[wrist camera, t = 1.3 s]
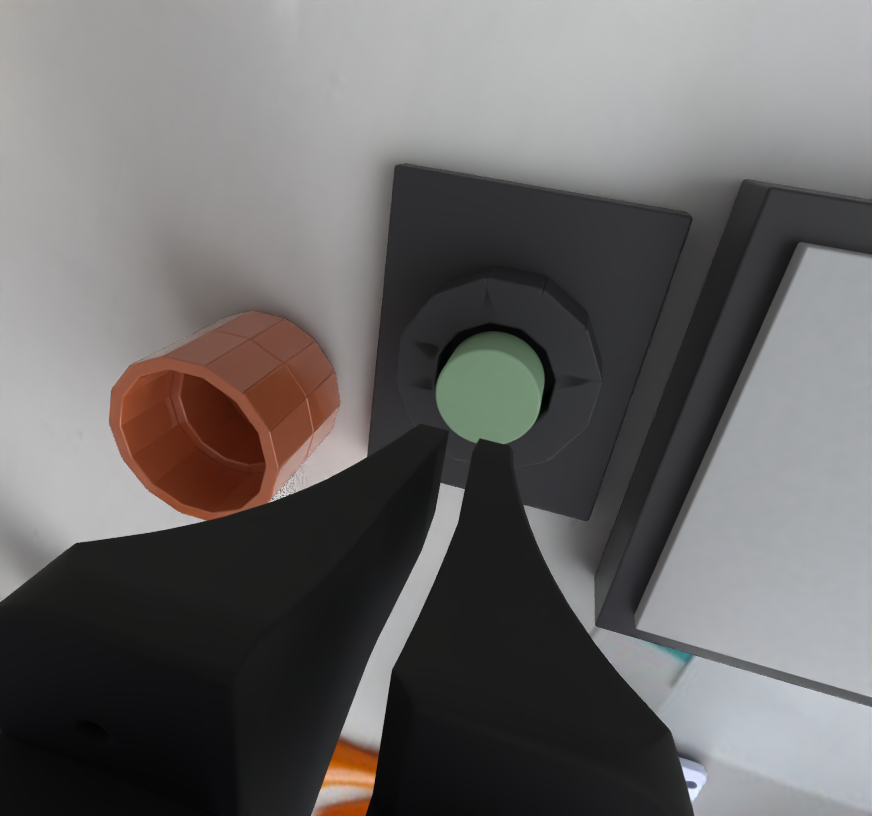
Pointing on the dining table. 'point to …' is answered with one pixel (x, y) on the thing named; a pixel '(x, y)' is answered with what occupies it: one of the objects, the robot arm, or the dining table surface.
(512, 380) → the tare button
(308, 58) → the dining table surface
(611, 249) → the pad
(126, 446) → the terracotta flower pot
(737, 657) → the scale
